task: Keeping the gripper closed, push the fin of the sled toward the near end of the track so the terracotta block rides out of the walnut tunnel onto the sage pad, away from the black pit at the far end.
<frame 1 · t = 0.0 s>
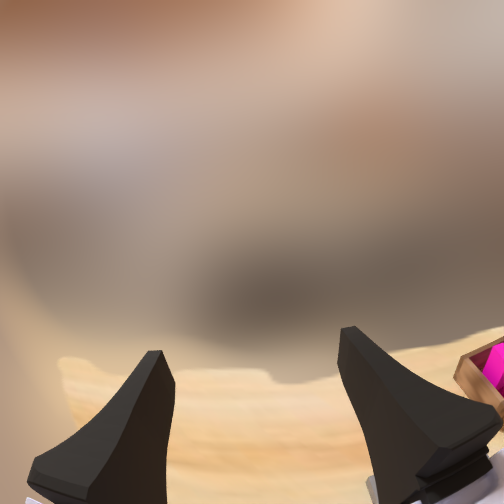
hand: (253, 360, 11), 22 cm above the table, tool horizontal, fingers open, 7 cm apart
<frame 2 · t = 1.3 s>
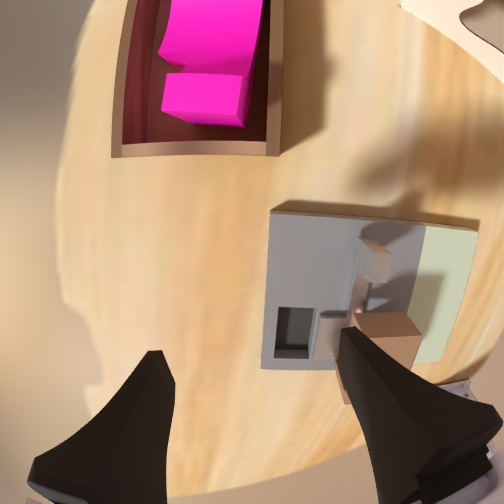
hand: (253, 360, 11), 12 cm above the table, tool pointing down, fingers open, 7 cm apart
wooden caddy: (209, 33, 17), on the table
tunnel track: (360, 325, 24), on the table
toy block: (219, 36, 18), resting in wooden caddy
sled: (376, 314, 19), point 4 cm above the table, slide at 0.0 cm
gable box: (493, 29, 14), on the table
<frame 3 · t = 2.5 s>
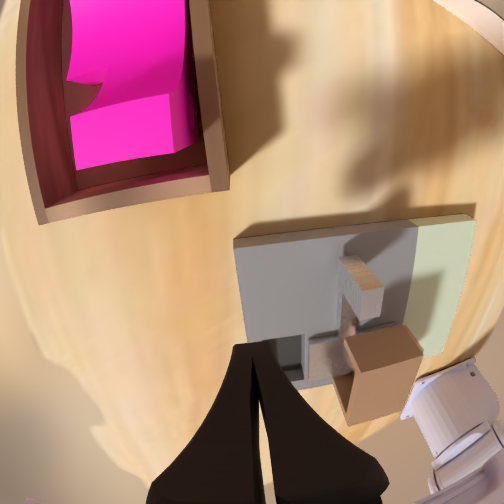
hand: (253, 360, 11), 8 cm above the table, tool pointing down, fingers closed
wooden caddy: (123, 37, 12), on the table
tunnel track: (354, 335, 22), on the table
toy block: (141, 34, 13), resting in wooden caddy
sled: (371, 336, 17), point 4 cm above the table, slide at 0.0 cm
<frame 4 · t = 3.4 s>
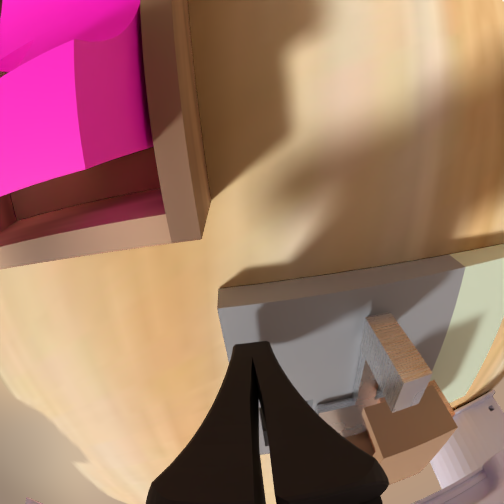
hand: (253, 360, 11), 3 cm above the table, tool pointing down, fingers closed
wooden caddy: (67, 12, 7), on the table
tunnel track: (371, 389, 17), on the table
sled: (397, 405, 12), point 4 cm above the table, slide at 0.0 cm
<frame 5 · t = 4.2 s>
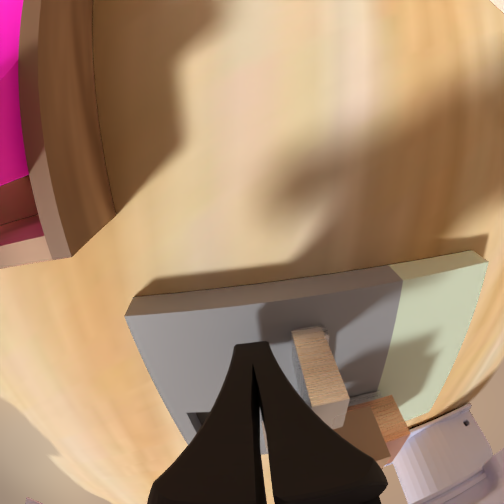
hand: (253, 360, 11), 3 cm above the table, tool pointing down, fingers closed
wooden caddy: (3, 47, 7), on the table
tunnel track: (313, 402, 17), on the table
toy block: (27, 29, 7), resting in wooden caddy
sled: (340, 421, 12), point 4 cm above the table, slide at 0.9 cm, touching gripper
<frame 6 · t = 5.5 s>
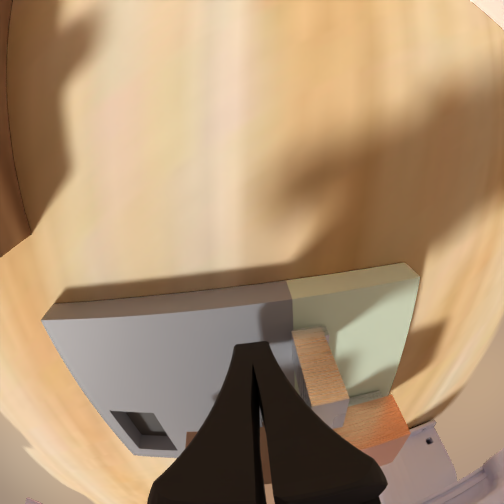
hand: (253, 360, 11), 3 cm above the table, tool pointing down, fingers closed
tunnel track: (236, 413, 17), on the table
sled: (340, 421, 12), point 4 cm above the table, slide at 5.9 cm, touching gripper
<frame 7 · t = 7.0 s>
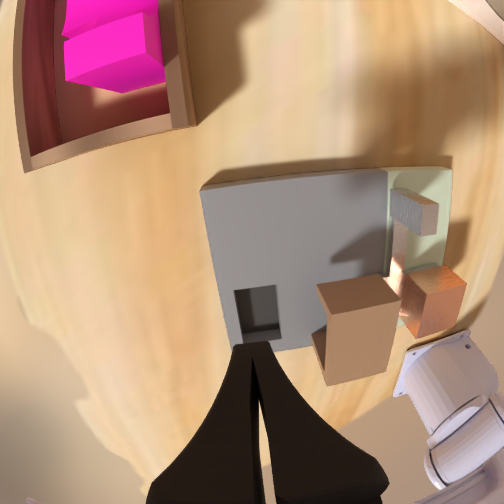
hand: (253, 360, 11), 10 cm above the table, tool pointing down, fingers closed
wooden caddy: (106, 15, 13), on the table
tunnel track: (333, 293, 22), on the table
toy block: (125, 0, 13), resting in wooden caddy
sled: (421, 268, 18), point 4 cm above the table, slide at 5.9 cm
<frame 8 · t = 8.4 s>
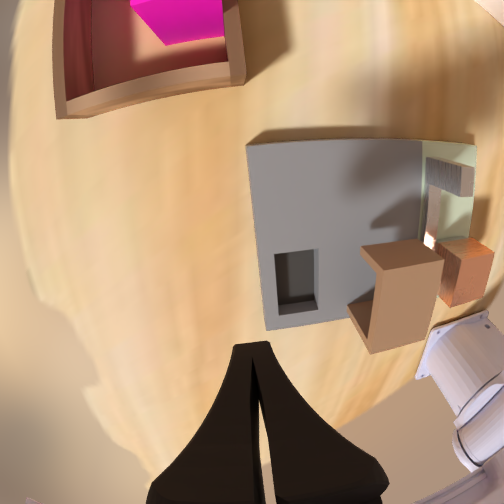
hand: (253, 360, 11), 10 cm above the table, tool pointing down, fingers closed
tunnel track: (368, 263, 22), on the table
sled: (455, 235, 17), point 4 cm above the table, slide at 5.9 cm
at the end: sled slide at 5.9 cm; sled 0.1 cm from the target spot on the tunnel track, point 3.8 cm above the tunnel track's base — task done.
